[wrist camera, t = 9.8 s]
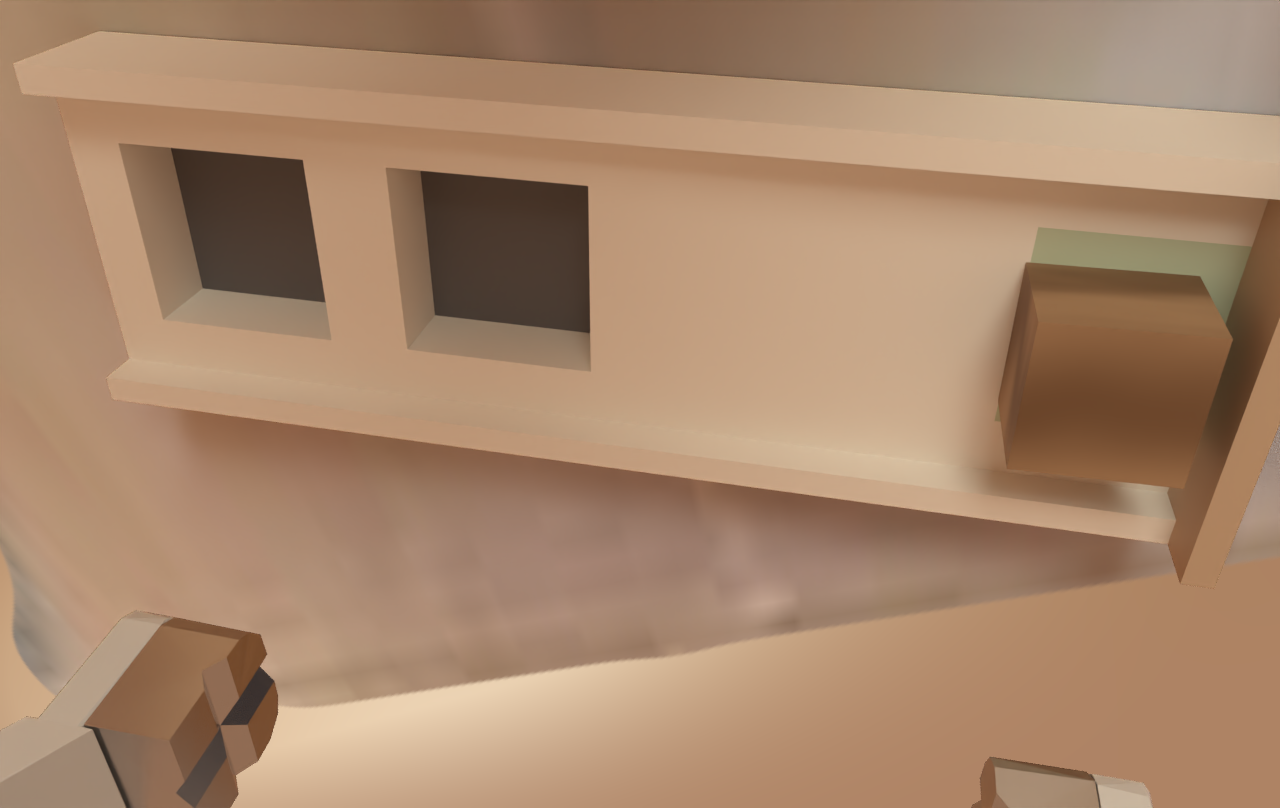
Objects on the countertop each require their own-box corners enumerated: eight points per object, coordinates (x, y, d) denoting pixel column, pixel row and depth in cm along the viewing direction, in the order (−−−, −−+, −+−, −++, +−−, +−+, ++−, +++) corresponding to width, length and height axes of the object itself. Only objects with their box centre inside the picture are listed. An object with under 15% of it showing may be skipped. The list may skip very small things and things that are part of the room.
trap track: (99, 31, 39) (-32, 80, 34) (1293, 116, 32) (1370, 195, 27) (177, 344, 46) (79, 427, 41) (1172, 470, 39) (1214, 589, 34)
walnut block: (1025, 262, 33) (1038, 322, 30) (1200, 276, 32) (1232, 339, 29) (997, 400, 36) (1006, 468, 32) (1157, 416, 35) (1183, 488, 32)
